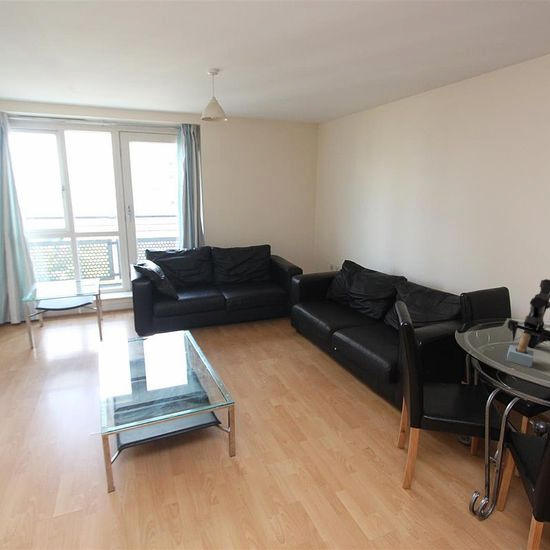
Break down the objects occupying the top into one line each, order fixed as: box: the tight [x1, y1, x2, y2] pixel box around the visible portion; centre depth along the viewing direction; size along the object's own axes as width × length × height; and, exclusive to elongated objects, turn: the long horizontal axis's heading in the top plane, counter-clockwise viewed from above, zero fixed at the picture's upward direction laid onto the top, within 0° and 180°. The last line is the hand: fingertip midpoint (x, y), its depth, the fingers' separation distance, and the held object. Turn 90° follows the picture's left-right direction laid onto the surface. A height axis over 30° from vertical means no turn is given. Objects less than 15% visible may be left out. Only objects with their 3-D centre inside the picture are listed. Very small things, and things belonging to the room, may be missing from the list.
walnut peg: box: [517, 332, 531, 354], centre depth 183 cm, size 4×4×13 cm
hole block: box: [506, 344, 535, 368], centre depth 185 cm, size 10×10×5 cm
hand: (523, 344), depth 183 cm, fingers open, 9 cm apart
